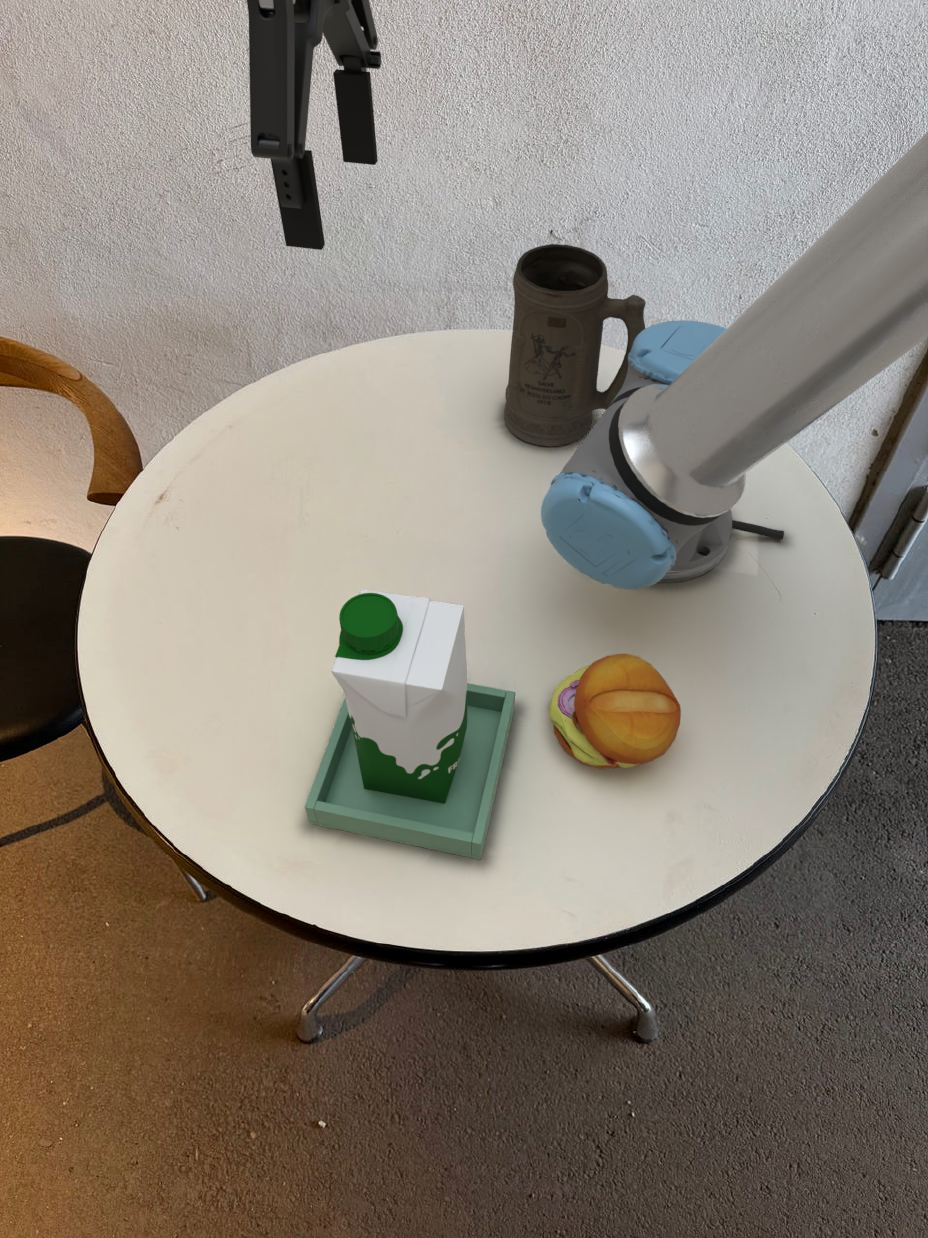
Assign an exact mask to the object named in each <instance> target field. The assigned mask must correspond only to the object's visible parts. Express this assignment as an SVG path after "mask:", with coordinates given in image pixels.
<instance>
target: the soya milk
mask: <svg viewBox="0 0 928 1238" xmlns="http://www.w3.org/2000/svg"><path fill="white" fill-rule="evenodd" d="M338 619H339V625H340V632H339V636H338V637H339V638H338V647H337V650H336V653H335V656H334V658H335V661H334V663H333V665H332V669H331V673H332V675H333V677H334V678H335V680H336V681H337V684H339V686H340V688H341V689H342V691H343V694H344V699H346V704H347V708H348V713H349V717H350V722H351V726H352V731H353V735H354V740H355V745H356V750H357V755H358V760H359V766H360V771H361V776H362V781H363V786H364V789H368V790H373V791H379V792H384V793H389V794H395V795H400V796H406V797H411V798H417V799H422V800H428V801H433V802H438V803H444V804H445V802H446V799H447V796H448V793H449V790H450V787H451V784H452V781H453V778H454V775H455V771H456V768H457V765H458V762H459V759H460V755H461V751H462V746H463V742H464V738H465V734H466V729H467V683H468V663H467V647H466V629H465V628H466V626H465V624H466V623H465V605H463V604H456V603H449V602H443V601H436V600H431V598H429V597H423V596H411V595H404V594H397V593H391V592H383V591H375V590H369V589H361V590H360V591H359V594H357V595H355V596H352V597H351V598H349V599H348V600H347V601H346V602H345V603H344V604H343V605H342V607H341V609H340V612H339V618H338Z"/></svg>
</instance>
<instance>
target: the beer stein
mask: <svg viewBox="0 0 928 1238" xmlns="http://www.w3.org/2000/svg"><path fill="white" fill-rule="evenodd" d="M512 287H513V297H514V298H513V299H514V306H513V322H512V333H511V341H510V342H511V343H510V354H509V367H508V380H507V382H508V383H507V386H506V388H505V393H504V394H505V396H504V398H505V405H504V410H503V420H504V422H505V425H506V427H507V429H508V430H509V431H510V433H511V434H513V435H514V436H515V437H516V438H519V439H520V440H522V441H523V442H526V443H530V444H533V445H536V446H543V447H560V446H564V445H570V444H573V443H575V442H577V441H578V440H580V439H581V438H582V437H584V436H585V435H586V434H587V433H588V431H589V429H590V428H591V426H592V422H593V415H594V414H593V412H594V411H595V410H605V411H606V409H607V408H608V407H609V405H610V404H611V402H612V401H613V399H614V398H615V397H616V395H617V394H618V392H619V391H620V390H621V388H622V386H623V384H624V381H625V379H626V375H627V372H628V364H629V363H628V354H629V353H630V352H631V349H632V346H633V342H634V340H635V338H636V337H637V335H638V334H639V333H640V332H642V331H643V330H644V329H646V323H645V317H644V316H645V315H644V314H645V308H646V304H647V302H646V300H645V299H644V298H643V297H642V296H639V295H637V294H631V295H630V296H628V297H626V298H611V297H609V295H608V294H609V280H608V269H607V266H606V264H605V262H604V261H603V259H602V258H601V257H599V256H598V255H596V254H595V252H592V251H589V250H587V249H585V248H582V247H580V246H575V245H569V244H558V243H549V244H545V245H540V246H536V247H533V248H530V249H529V250H527V251H525V252H524V253H523V254H522V255H521V256H520V257H519V258H518V260H517V263H516V267H515V271H514V273H513V277H512ZM609 318H612V319H617V320H621V321H622V322H623V324H624V325H625V327H626V330H627V344H626V350H625V353H624V356H623V360H622V362H621V364H620V367H619V368H618V370H617V373H616V374H615V377H614V378H613V380H612V382H611V383H610V385H609V386H608V387H607V388H606V390H603V391H599V390H598V375H599V367H600V356H601V349H602V341H603V340H602V339H603V331H604V321H606V320H608V319H609Z"/></svg>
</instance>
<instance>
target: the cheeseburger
mask: <svg viewBox="0 0 928 1238" xmlns="http://www.w3.org/2000/svg"><path fill="white" fill-rule="evenodd" d="M681 712H682V711H681V704H680V702H679V700H678V698H677V697H676V696H675V693H674V692H673V690H672V689H671V687H670V686H669V684H668V682H667V681H666V680H665V679H664V677H663V676H662V674H660V671H658V670H657V668H655V667H654V666H653V665H652V664H651V663H649V662H648V661H646V660H644V659H643V658H642V657H640V656H637V655H633V654H629V653H618V654H617V653H616V654H611V655H606V656H604V657H601V658H599V659H597V660H595V661H594V662H592V663H591V664H590V665H589V664H588V665H586V666H584V667H581V668H579V669H578V670H576V671H575V672H573V673H571V674H569V675H568V676H567V677H565V678H564V679H563V680H562V681H561V682H560V683H559V684H558V685H557V686H556V688H555V689H554V691H553V693H552V696H551V698H550V702H549V705H548V716H549V720H550V723H552V725H553V732H554V735H555V736H556V738H557V741H558V742H559V744H560V746H561V747H562V749H563V751H564V752H565V753H567V754H568V755H569V756H571V757H572V758H573V759H575V761H577V762H578V763H580V764H581V765H585V766H589V767H593V768H597V769H599V770H600V769H601V770H604V769H617V768H618V769H619V768H623V769H627V768H633V767H635V766H638V765H641V764H644V763H650V762H653V761H654V760H656V759H658V758H660V757H661V756H663V755H665V754H666V752H667V751H669V749H670V748H671V747H672V745H673V743H674V741H675V740H676V737H677V734H678V731H679V729H680V725H681V715H682V713H681Z"/></svg>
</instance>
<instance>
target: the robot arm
mask: <svg viewBox="0 0 928 1238" xmlns="http://www.w3.org/2000/svg"><path fill="white" fill-rule="evenodd" d="M246 4H247V12H248V56H249V57H248V60H249V61H248V62H249V112H250V113H249V121H250V122H249V123H250V125H249V126H250V129H249V130H250V151H251V152H250V153H251V155H252V157H254V158H258V159H259V158H260V159H269V160H270V163H271V170H272V175H273V181H274V186H275V192H276V197H277V203H278V209H279V213H280V220H281V225H282V231H283V236H284V242H285V246H286V247H291V248H300V249H309V250H310V249H311V250H319V251H322V250H323V249H324V247H325V246H326V243H325V235H324V228H323V227H324V226H323V221H322V214H321V208H320V207H321V206H320V200H319V192H318V185H317V179H316V171H315V163H314V158H313V151H312V150H311V149H306V141H307V130H308V120H309V119H308V118H309V107H310V97H311V96H310V95H311V84H312V75H313V74H312V73H313V63H314V53H315V52H314V51H315V48H316V47H317V46H318V45H321V43H322V40H323V36H324V39H325V40H326V43H327V45H328V47H329V49H330V51H331V53H332V55H333V57H334V60H335V62H336V64H337V65H338V66H339V67H343V69H339V68H338V69H337V68H336V69H335V70H334V71H333V73H332V75H333V84H334V92H335V101H336V109H337V118H338V119H337V120H338V126H339V127H338V128H339V135H340V137H339V138H340V145H341V154H342V161H343V163H350V164H361V165H370V166H371V165H372V166H376V164H377V163H378V162H379V161H378V159H379V158H378V150H377V149H378V148H377V138H376V137H377V135H376V125H375V113H374V101H373V91H372V89H373V88H372V77H371V71H367V69H370V70H371V69H372V70H373V69H375V70H380V69H381V67H382V66H381V65H382V52H381V51H376V50H377V48H378V45H379V38H378V32H377V29H376V25H375V21H374V15H373V11H372V7H371V4H370V0H246ZM927 338H928V131H927V132H926V133H924V135H922V136H921V138H920V139H919V140H917V141H916V142H915V143H914V144H913V145H912V146H911V147H910V149H908V150H907V151H906V152H905V153H904V154H903V155H902V156H901V157H900V158H899V159H897V161H896V162H895V163H894V164H893V165H892V166H891V167H890V168H889V169H888V170H887V171H886V172H885V173H884V174H883V175H881V177H879V178H878V180H876V181H875V183H873V185H872V186H870V188H869V189H868V190H867V191H866V192H865V193H863V195H861V196H860V197H859V198H858V199H857V200H856V201H855V202H854V203H853V204H852V205H851V206H850V207H849V208H848V209H847V210H846V211H845V212H844V213H843V214H842V215H841V216H840V217H839V218H838V219H837V220H836V221H835V222H834V223H833V224H832V225H831V226H830V227H829V228H828V229H827V230H826V231H824V232H823V234H821V236H820V237H819V238H818V239H816V240H815V241H814V243H813V244H811V245H810V246H809V247H808V248H807V250H805V251H804V253H802V254H801V255H800V256H799V257H798V258H797V259H796V261H794V262H793V263H792V264H791V265H790V266H789V267H788V268H787V269H786V270H785V271H784V272H783V273H782V274H781V275H780V276H779V277H778V278H777V279H775V281H774V282H773V283H772V284H771V285H769V287H768V288H767V289H766V290H765V291H763V293H761V295H760V296H758V297H757V298H756V300H755V301H753V302H752V303H751V305H749V307H747V308H746V310H745V311H743V312H742V313H741V314H740V315H739V316H738V317H737V318H736V319H735V320H734V321H733V322H732V323H731V324H730V325H729V326H728V327H727V328H726V327H724V326H721V325H717V324H713V323H711V322H710V323H709V322H706V321H698V320H685V319H684V320H681V319H680V320H668V321H662V322H657V323H655V324H652V325H650V326H648V327H645V329H644V330H643V331H642V332H640V333H639V334H638V335H637V337H636V338H635V340H634V342H633V346H632V349H631V352H630V353H629V354H628V363H629V364H628V372H627V375H626V379H625V381H624V384H623V386H622V388H621V390H620V391H619V392H618V394H617V395H616V397H615V398H614V399H613V401H612V402H611V404H610V405H609V407H608V408H607V409H606V410H605V411H604V412H603V413H602V415H601V416H599V418H598V420H597V421H596V422H595V424H594V426H593V427H592V428H591V430H590V431H589V432H588V434H587V435H586V437H584V439H583V441H582V442H581V444H580V445H579V446H578V447H577V448H576V450H575V452H574V453H573V454H572V456H571V457H570V458H569V460H568V461H567V462H566V463H565V466H564V467H563V468H562V470H561V471H560V472H559V473H558V474H557V475H555V477H553V479H552V480H551V481H550V483H549V484H550V485H549V489H548V490H547V492H546V494H545V495H544V497H543V500H542V503H541V507H540V520H541V524H542V526H543V528H544V530H545V533H546V537H547V539H548V541H549V542H550V544H551V546H552V547H553V548H554V549H555V551H556V552H557V553H558V555H559V556H561V557H562V559H563V560H564V561H565V562H566V563H567V564H568V565H570V566H571V567H573V568H574V569H575V570H577V572H580V573H581V574H582V575H584V576H586V577H588V578H589V579H592V580H593V581H595V582H597V583H600V584H603V585H610V586H611V587H614V588H617V589H622V590H641V589H646V588H650V587H652V586H654V585H655V584H657V583H674V582H682V581H687V580H692V579H694V578H697V577H700V576H702V575H704V574H706V573H708V572H709V571H711V570H712V569H713V568H715V567H716V566H717V565H718V564H719V563H720V561H722V559H723V557H724V556H725V555H726V552H727V550H728V546H729V544H730V541H731V539H732V538H731V537H732V535H733V530H736V531H741V532H746V533H750V534H753V535H759V536H763V537H766V538H771V539H776V540H783V539H784V538H785V531H784V530H779V529H775V528H770V527H766V526H763V525H758V524H753V523H751V522H750V523H749V522H746V521H745V522H744V521H740V520H735V519H733V515H732V514H733V513H732V508H733V507H735V506H736V504H738V502H739V500H741V497H742V494H743V493H744V491H745V485H746V477H747V473H748V472H749V471H750V470H752V469H753V468H754V467H755V466H757V465H758V464H760V463H761V462H762V461H764V460H765V459H766V458H768V457H769V456H770V455H772V454H773V453H774V452H776V451H777V450H779V449H780V448H781V447H782V446H784V445H785V444H787V443H788V442H789V441H790V440H792V439H793V438H794V437H795V436H797V435H798V434H800V433H801V432H802V431H804V430H805V429H806V428H808V427H809V426H810V425H812V424H813V423H814V422H816V421H817V420H818V419H820V418H821V417H823V416H824V415H825V414H827V413H828V412H829V411H831V410H832V409H833V408H835V407H836V406H837V405H838V404H840V403H841V402H842V401H844V400H845V399H847V398H848V397H849V396H851V395H852V394H853V393H855V392H856V391H857V390H858V389H860V388H862V387H863V386H864V385H866V384H867V383H868V382H869V381H871V380H872V379H873V378H875V377H876V376H877V375H879V374H880V373H882V371H884V370H885V369H887V368H888V367H890V366H891V365H892V364H893V363H895V362H896V361H897V360H899V359H900V358H901V357H903V356H904V355H905V354H907V353H908V352H909V351H911V350H912V349H913V348H915V347H916V346H918V345H919V344H920V343H921V342H923V341H924V340H925V339H927Z"/></svg>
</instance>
